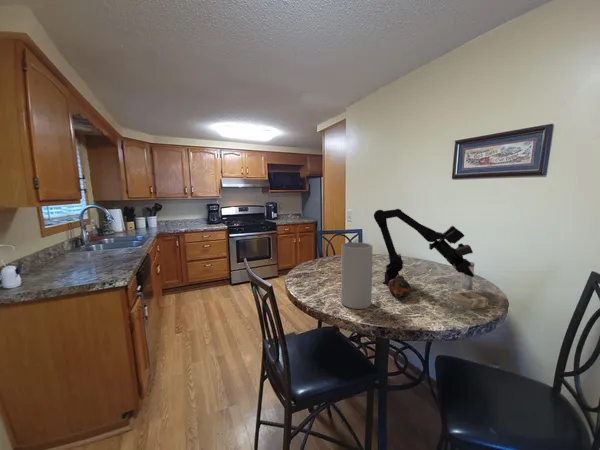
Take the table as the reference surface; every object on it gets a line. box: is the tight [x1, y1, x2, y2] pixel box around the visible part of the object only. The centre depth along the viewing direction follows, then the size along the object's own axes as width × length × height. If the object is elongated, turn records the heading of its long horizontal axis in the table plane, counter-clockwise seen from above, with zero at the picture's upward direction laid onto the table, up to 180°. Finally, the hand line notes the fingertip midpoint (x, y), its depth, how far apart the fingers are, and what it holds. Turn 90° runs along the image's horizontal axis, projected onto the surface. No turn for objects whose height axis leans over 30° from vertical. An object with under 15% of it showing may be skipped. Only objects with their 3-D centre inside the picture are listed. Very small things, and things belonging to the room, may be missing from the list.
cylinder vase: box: [340, 242, 373, 310], centre depth 101 cm, size 12×12×25 cm
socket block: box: [450, 290, 489, 310], centre depth 100 cm, size 9×9×4 cm
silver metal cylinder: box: [461, 261, 475, 291], centre depth 112 cm, size 4×4×12 cm
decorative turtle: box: [387, 274, 412, 298], centre depth 110 cm, size 10×15×8 cm, turn 160°
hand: (471, 275), depth 112 cm, fingers closed on silver metal cylinder, 4 cm apart
